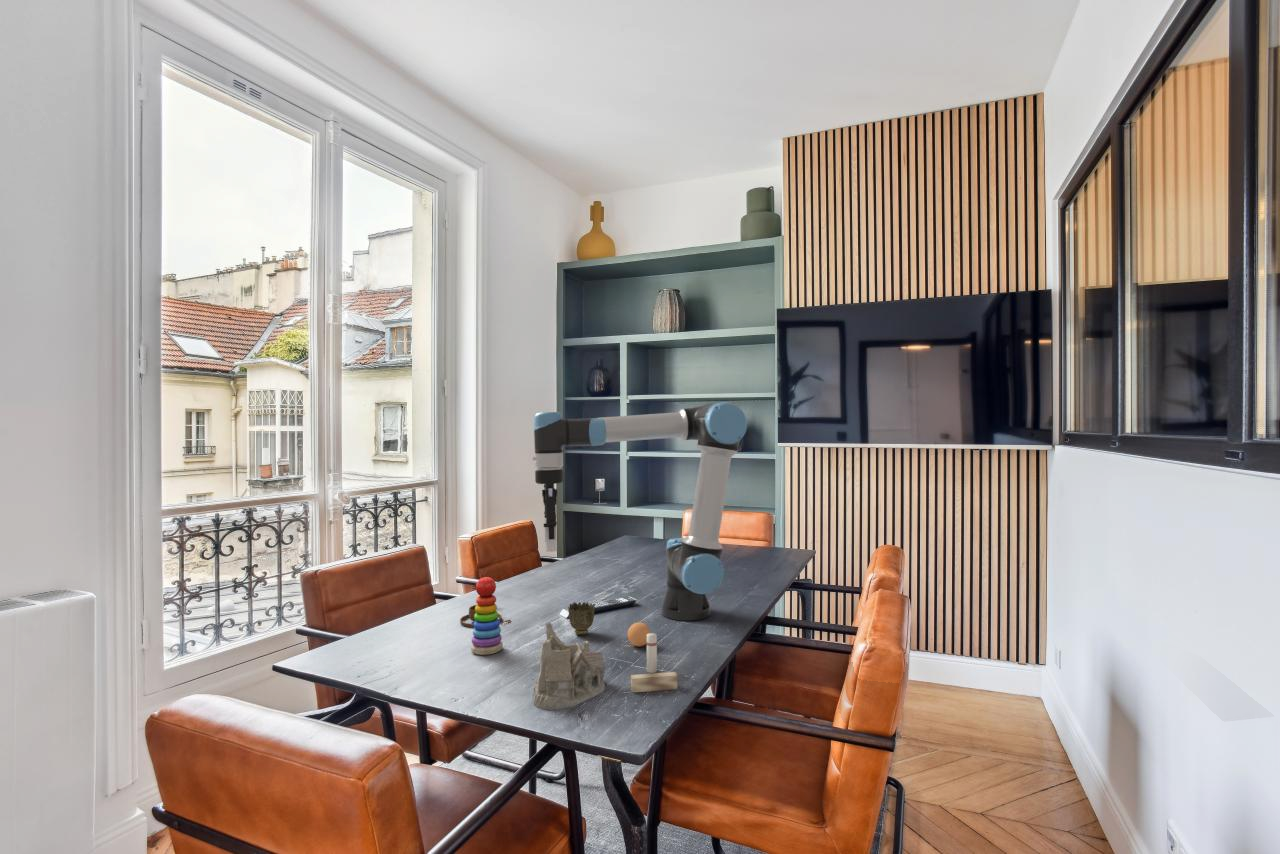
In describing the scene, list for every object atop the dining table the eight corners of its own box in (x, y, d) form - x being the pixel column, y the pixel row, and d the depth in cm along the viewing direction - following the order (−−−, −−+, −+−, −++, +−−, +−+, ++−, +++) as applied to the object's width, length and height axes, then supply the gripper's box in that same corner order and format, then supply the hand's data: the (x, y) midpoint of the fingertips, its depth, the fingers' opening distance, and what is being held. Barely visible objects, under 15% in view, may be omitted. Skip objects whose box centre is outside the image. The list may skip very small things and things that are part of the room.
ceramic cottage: (526, 709, 128) (531, 635, 129) (538, 679, 145) (542, 614, 145) (602, 713, 129) (607, 639, 129) (606, 683, 145) (610, 618, 146)
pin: (655, 668, 150) (655, 632, 150) (658, 672, 148) (658, 636, 147) (645, 669, 150) (645, 633, 149) (647, 673, 147) (647, 636, 147)
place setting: (443, 626, 184) (442, 606, 184) (484, 607, 202) (484, 589, 202) (493, 633, 177) (493, 612, 177) (531, 613, 196) (531, 594, 196)
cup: (590, 639, 170) (590, 609, 170) (564, 637, 172) (564, 608, 172) (598, 630, 177) (598, 602, 177) (572, 629, 179) (572, 600, 179)
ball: (648, 641, 169) (648, 618, 169) (652, 649, 163) (652, 625, 163) (625, 642, 168) (625, 620, 168) (629, 650, 162) (629, 627, 162)
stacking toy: (508, 647, 165) (508, 575, 165) (491, 657, 157) (491, 582, 157) (482, 643, 167) (482, 573, 167) (464, 654, 160) (464, 580, 160)
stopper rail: (675, 685, 140) (675, 671, 140) (677, 688, 138) (677, 675, 138) (630, 688, 138) (630, 675, 138) (632, 692, 137) (632, 678, 137)
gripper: (534, 466, 184) (536, 538, 184) (535, 472, 159) (537, 556, 159) (560, 465, 185) (562, 537, 185) (565, 471, 160) (567, 554, 160)
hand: (550, 546), depth 172 cm, fingers open, 13 cm apart
